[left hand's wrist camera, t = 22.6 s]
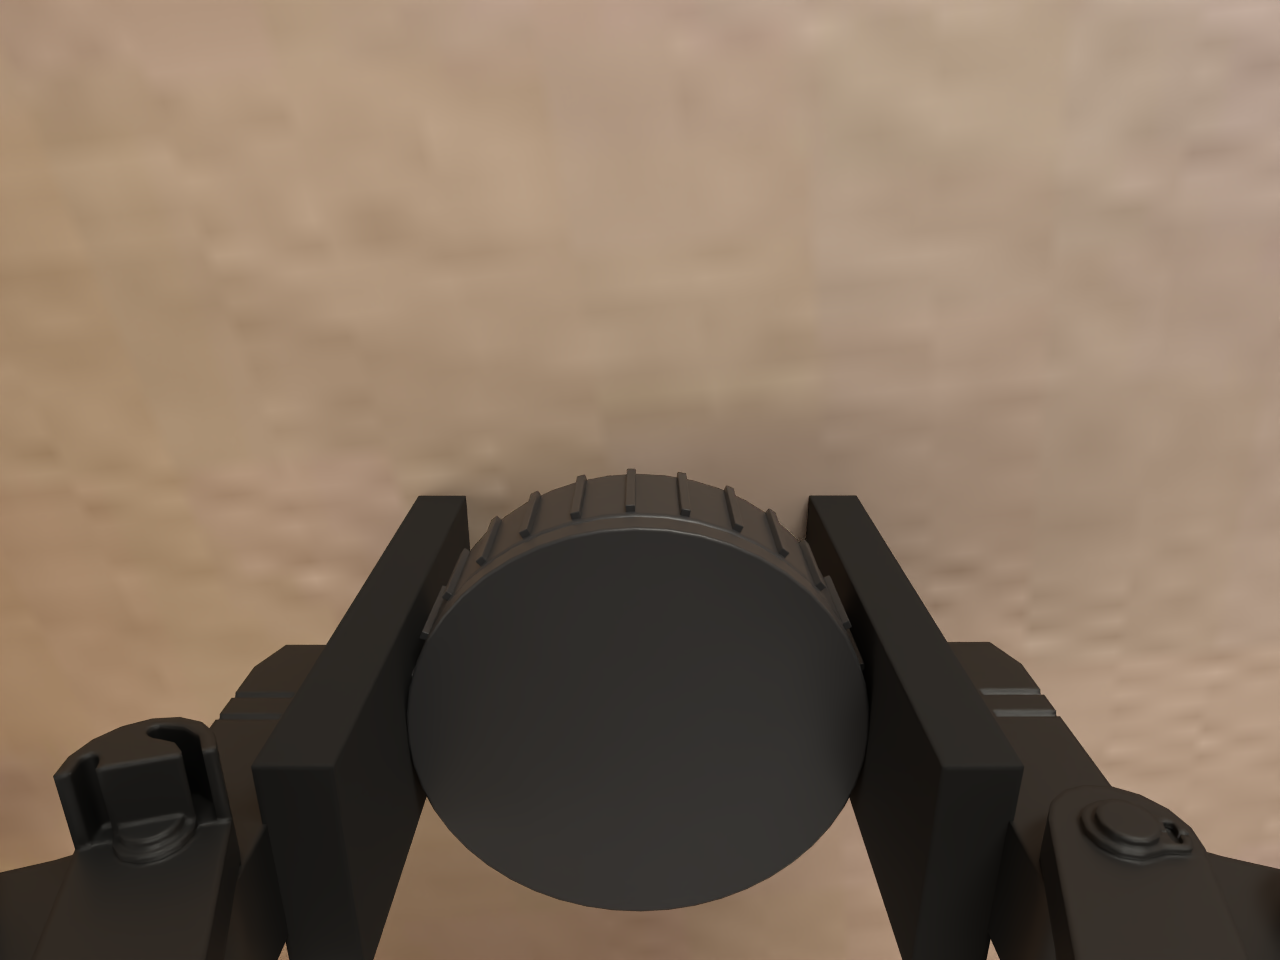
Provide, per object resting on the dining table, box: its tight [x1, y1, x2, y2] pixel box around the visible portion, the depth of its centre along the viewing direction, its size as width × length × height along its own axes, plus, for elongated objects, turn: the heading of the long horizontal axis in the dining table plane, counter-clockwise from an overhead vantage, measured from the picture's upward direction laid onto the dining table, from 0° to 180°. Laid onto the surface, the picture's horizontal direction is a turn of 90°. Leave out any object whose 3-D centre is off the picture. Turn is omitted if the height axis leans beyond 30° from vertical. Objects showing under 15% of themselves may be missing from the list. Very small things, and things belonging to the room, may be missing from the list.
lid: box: [406, 469, 869, 911], centre depth 11 cm, size 6×6×2 cm
